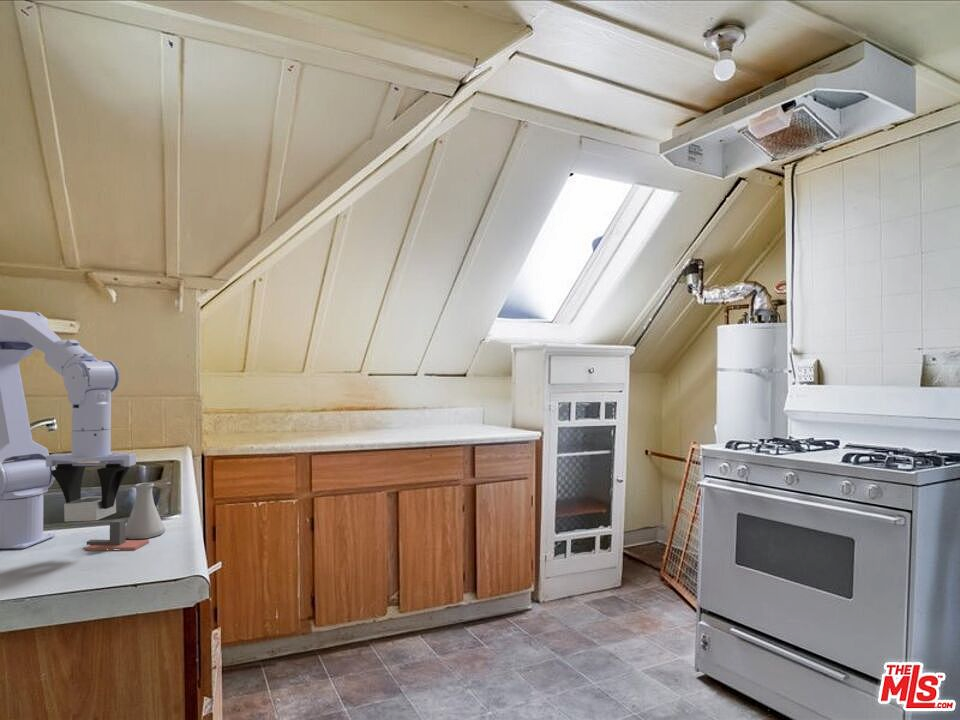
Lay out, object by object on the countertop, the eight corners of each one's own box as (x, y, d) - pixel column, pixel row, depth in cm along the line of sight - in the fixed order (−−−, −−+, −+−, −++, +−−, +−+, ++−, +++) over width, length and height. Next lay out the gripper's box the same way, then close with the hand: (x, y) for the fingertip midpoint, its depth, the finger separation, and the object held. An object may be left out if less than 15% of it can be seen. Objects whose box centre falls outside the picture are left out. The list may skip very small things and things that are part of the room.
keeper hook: (80, 550, 104) (80, 524, 104) (96, 543, 109) (96, 517, 109) (135, 550, 104) (135, 523, 105) (149, 542, 109) (149, 517, 109)
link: (64, 521, 99) (64, 503, 99) (86, 513, 104) (85, 496, 104) (96, 520, 99) (95, 502, 99) (116, 512, 104) (115, 495, 104)
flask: (172, 530, 117) (173, 481, 118) (148, 541, 110) (149, 488, 110) (139, 529, 118) (139, 480, 118) (113, 540, 111) (113, 487, 111)
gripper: (32, 432, 98) (31, 513, 97) (118, 431, 98) (118, 512, 97) (62, 427, 105) (61, 503, 104) (143, 427, 105) (142, 503, 105)
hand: (90, 507), depth 101 cm, fingers closed on link, 5 cm apart
